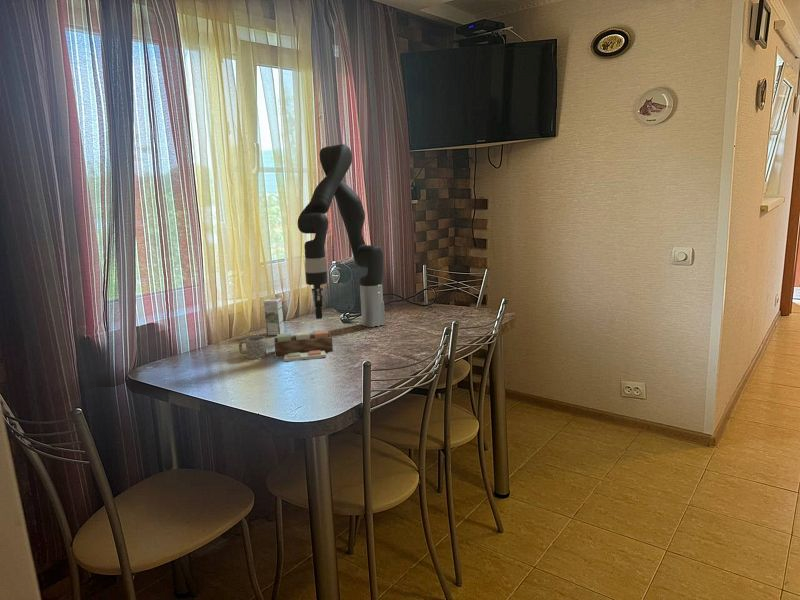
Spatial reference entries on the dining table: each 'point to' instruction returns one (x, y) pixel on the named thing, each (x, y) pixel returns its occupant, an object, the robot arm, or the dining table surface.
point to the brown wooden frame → (303, 345)
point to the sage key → (284, 337)
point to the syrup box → (273, 316)
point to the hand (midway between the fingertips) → (319, 318)
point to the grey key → (302, 335)
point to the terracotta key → (321, 334)
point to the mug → (254, 347)
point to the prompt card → (304, 355)
